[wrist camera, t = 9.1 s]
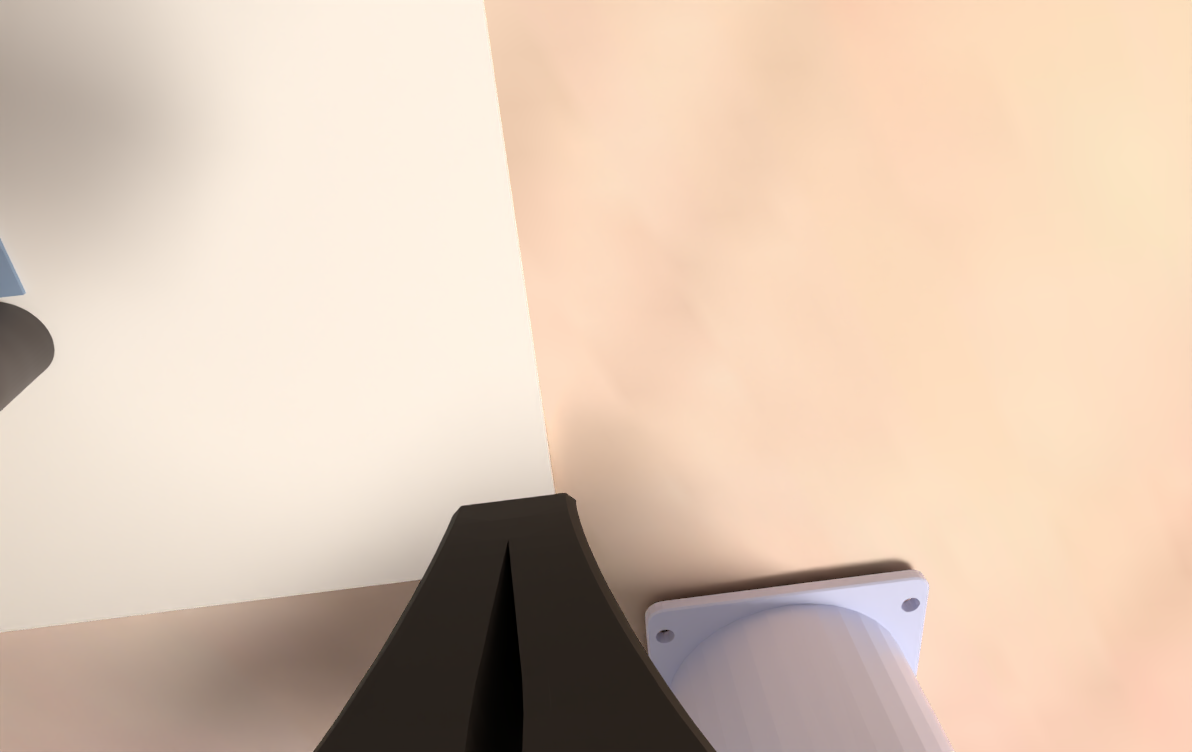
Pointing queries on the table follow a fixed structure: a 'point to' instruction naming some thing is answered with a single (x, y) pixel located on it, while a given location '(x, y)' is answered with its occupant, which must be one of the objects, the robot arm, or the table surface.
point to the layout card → (254, 300)
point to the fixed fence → (21, 351)
